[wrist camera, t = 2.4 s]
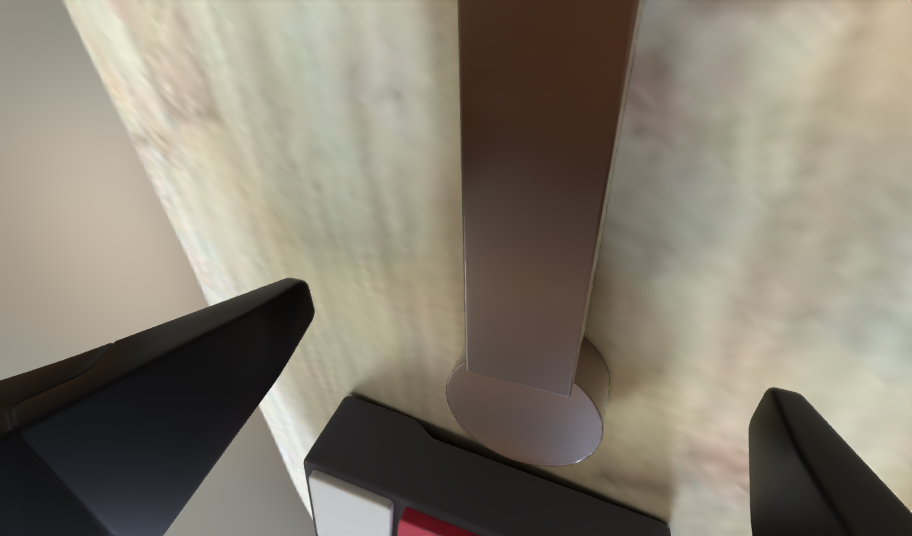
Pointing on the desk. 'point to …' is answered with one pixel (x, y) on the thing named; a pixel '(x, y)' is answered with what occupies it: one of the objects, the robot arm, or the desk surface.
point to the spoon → (536, 217)
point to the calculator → (439, 487)
